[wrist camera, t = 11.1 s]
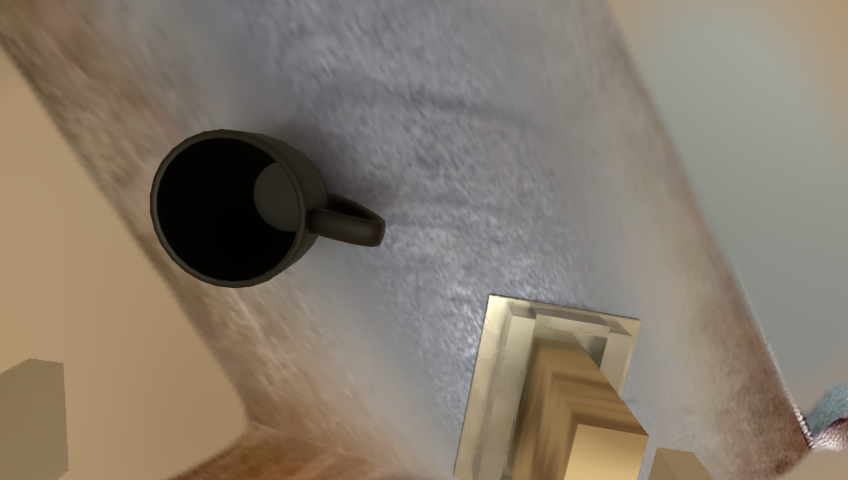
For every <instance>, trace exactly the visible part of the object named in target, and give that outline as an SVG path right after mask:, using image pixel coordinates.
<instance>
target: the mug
mask: <svg viewBox="0 0 848 480" xmlns="http://www.w3.org/2000/svg"><path fill="white" fill-rule="evenodd" d="M150 213H151V218H152V222H153V226H154V230H155V232H156V234H157V237H158V239H159V241H160V243H161V245H162V247H163V248H164V249H165V251H166V252H167V253H168V255H169V256H170V257H171V259H172V260H173V261H174V262H175V263H176V264H177V265H179V266H180V267H181V268H182V269H183V270H184V271H185V272H187V273H188V274H190V275H192V276H194V277H195V278H197V279H199V280H200V281H203V282H206V283H209V284H212V285H215V286H220V287H229V288H242V287H251V286H255V285H258V284H260V283H263V282H266V281H269V280H270V279H272V278H273V277H275V276H276V275H278V274H279V273H281V272H282V271H284V270H285V269H287V268H288V267H290V266H291V265H292V264H294V263H295V262H297V261H298V260H299V259H300V258H301V257H302V256H303V255H304V254H305V253H306V252H307V251H308V250H309V249H310V248H311V246H312V245H313V244H314V242H315V240H316V239H317V237H318V235H319V236H323V237H326V238H330V239H334V240H338V241H342V242H347V243H351V244H356V245H361V246H367V247H375V246H379V245H380V244H381V242H382V240H383V237H384V233H385V227H386V226H385V221H384V219H382V218H381V217H380V216H378V215H377V214H375V213H374V212H372V211H370V210H369V209H367V208H365V207H363V206H361V205H359V204H358V203H356V202H353V201H351V200H349V199H346V198H344V197H340V196H337V195H333V194H328V193H327V189H326V186H325V183H324V181H323V179H322V176H321V175H320V173H319V172H318V170H317V169H316V167H315V166H314V165H313V163H312V162H310V161H309V160H308V159H307V158H306V157H305V156H304V155H303V154H302V153H301V152H299V151H298V150H296V149H295V148H293V147H291V146H290V145H288V144H286V143H285V142H282V141H280V140H278V139H275V138H272V137H269V136H266V135H263V134H257V133H250V132H243V131H234V130H224V129H219V130H212V131H204V132H202V133H199V134H196V135H194V136H191V137H189V138H187V139H185V140H184V141H183V142H181V143H180V144H179V145H177V146H176V147H174V148H173V149H172V150H171V151H170V152H169V154H168V155H167V156H166V157H165V158H164V160H163V161H162V162H161V164H160V166H159V168H158V170H157V172H156V174H155V176H154V179H153V183H152V188H151V193H150Z"/></svg>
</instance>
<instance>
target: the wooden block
mask: <svg viewBox="0 0 848 480" xmlns="http://www.w3.org/2000/svg"><path fill="white" fill-rule="evenodd" d="M648 438H649V436H648V434H647V433H646V432H645V430H644V429H643V428H642V426H641V425H640V423H639V422H638V421H637V419H636V418H635V417H634V415H633V414H632V413H631V411H630V410H629V409H628V407H627V406H626V404H625V403H624V402H623V400H622V399H621V398H620V396H619V395H618V394H617V392H616V391H615V390H614V388H613V387H612V386H611V384H610V383H609V381H608V380H607V379H606V377H605V376H604V375H603V373H602V372H601V371H600V369H599V368H598V367H597V365H596V364H595V362H594V361H593V360H592V358H591V357H590V356H589V354H588V353H587V352H586V350H585V349H584V348H583V346H582V345H578V344H572V343H567V342H561V341H555V340H549V339H543V338H538V337H534V340H533V345H532V349H531V354H530V358H529V363H528V367H527V372H526V376H525V381H524V385H523V389H522V394H521V398H520V403H519V407H518V412H517V416H516V421H515V425H514V430H513V434H512V439H511V443H510V448H509V452H508V457H507V459H508V463H509V468H510V473H511V477H512V480H637V476H638V473H639V469H640V466H641V462H642V459H643V455H644V452H645V448H646V445H647V441H648Z"/></svg>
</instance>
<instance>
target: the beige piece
mask: <svg viewBox="0 0 848 480" xmlns="http://www.w3.org/2000/svg"><path fill="white" fill-rule="evenodd" d="M640 324H641V321H640V320H639V319H633V318H628V317H622V316H616V315H610V314H604V313H598V312H593V311H587V310H581V309H575V308H569V307H564V306H558V305H552V304H546V303H540V302H534V301H529V300H523V299H517V298H511V297H505V296H500V295H494V294H489V299H488V304H487V309H486V314H485V319H484V324H483V329H482V334H481V339H480V344H479V349H478V354H477V359H476V364H475V369H474V374H473V379H472V384H471V389H470V394H469V399H468V404H467V409H466V414H465V419H464V424H463V429H462V434H461V439H460V444H459V449H458V454H457V459H456V464H455V469H454V477H456V478H461V479H467V480H512V477H511V473H510V468H509V463H508V459H507V457H508V452H509V448H510V443H511V439H512V434H513V430H514V425H515V421H516V416H517V412H518V407H519V403H520V398H521V394H522V389H523V385H524V381H525V376H526V372H527V367H528V363H529V358H530V354H531V349H532V345H533V340H534V337H538V338H543V339H549V340H555V341H561V342H567V343H572V344H578V345H582V346H583V348H584V349H585V350H586V352H587V353H588V354H589V356H590V357H591V358H592V360H593V361H594V362H595V364H596V365H597V367H598V368H599V369H600V371H601V372H602V373H603V375H604V376H605V377H606V379H607V380H608V381H609V383H610V384H611V386H612V387H613V388H614V390H615V391H616V392H617V394H618V395H619V396H620V398H621V395H622V392H623V388H624V384H625V380H626V377H627V373H628V369H629V365H630V362H631V358H632V354H633V351H634V347H635V343H636V339H637V336H638V332H639V328H640Z"/></svg>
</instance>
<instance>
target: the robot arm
mask: <svg viewBox="0 0 848 480" xmlns="http://www.w3.org/2000/svg"><path fill="white" fill-rule="evenodd" d="M68 470H69V465H68V446H67V427H66V409H65V390H64V370H63V363H58V362H51V361H44V360H37V359H28V360H26V361H24V362H22V363H20V364H18V365H16V366H14V367H12V368H10V369H8V370H6V371H5V372H3V373H1V374H0V480H58V479H59V478H60V477H61V476H63V475H64V474H65V473H66V472H67V471H68ZM648 480H714V478H713V477H712V476H711V475H710V473H709V472H708V471H707V470H706V468H705V467H704V466H703V465H702V463H701V462H700V461H699V459H698V458H697V457H696V456H695V454H694V453H693V452H687V451H680V450H673V449H666V448H659V447H657V450H656V454H655V457H654V461H653V465H652V468H651V472H650V475H649V479H648Z"/></svg>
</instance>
